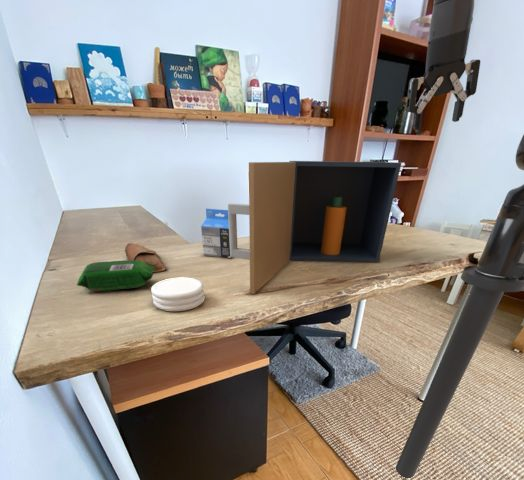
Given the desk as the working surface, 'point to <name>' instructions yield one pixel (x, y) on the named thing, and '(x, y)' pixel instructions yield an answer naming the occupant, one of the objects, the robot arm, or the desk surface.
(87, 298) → the desk surface
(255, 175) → the fridge door
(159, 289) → the coaster
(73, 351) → the desk surface
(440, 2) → the robot arm
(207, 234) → the tape cartridge
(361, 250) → the box
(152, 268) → the snack package
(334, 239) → the juice bottle
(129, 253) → the sunglasses case
